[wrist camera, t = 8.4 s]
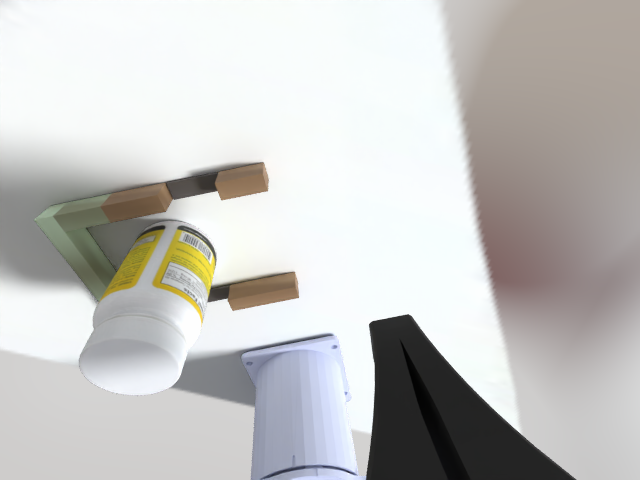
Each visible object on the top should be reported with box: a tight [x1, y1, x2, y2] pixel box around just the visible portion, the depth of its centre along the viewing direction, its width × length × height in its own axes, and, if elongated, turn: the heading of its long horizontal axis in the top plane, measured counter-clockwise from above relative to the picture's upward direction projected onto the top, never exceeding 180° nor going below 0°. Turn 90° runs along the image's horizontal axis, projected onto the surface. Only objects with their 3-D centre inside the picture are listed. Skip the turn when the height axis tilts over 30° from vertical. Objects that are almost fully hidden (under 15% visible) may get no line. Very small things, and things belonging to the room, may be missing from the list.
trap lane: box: [34, 163, 299, 311], centre depth 20 cm, size 9×12×2 cm
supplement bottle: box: [79, 221, 217, 396], centre depth 17 cm, size 5×5×8 cm
